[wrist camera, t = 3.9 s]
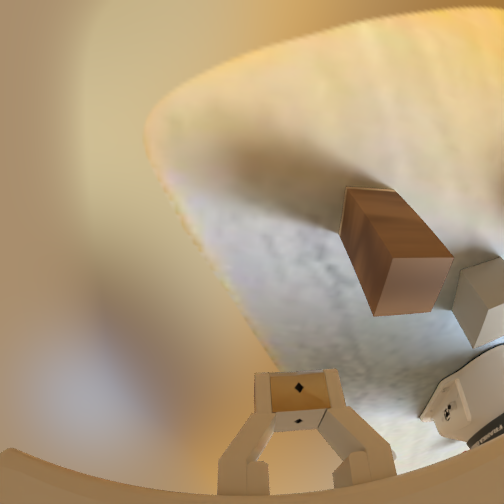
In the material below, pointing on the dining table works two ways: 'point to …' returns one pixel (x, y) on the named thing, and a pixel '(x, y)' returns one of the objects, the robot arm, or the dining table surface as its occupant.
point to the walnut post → (392, 252)
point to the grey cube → (481, 302)
